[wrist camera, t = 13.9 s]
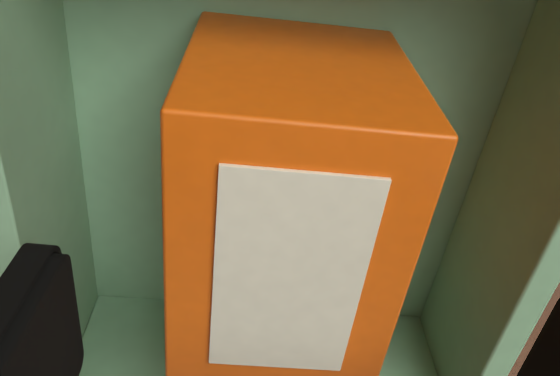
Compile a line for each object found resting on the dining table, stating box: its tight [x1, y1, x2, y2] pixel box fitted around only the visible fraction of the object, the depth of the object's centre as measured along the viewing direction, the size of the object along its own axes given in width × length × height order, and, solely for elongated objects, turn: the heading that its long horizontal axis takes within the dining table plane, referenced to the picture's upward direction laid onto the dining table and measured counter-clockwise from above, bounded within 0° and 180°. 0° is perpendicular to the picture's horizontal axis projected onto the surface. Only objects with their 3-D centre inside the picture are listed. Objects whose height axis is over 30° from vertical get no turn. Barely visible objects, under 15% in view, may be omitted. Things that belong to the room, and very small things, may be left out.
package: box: [160, 11, 458, 376], centre depth 13 cm, size 5×7×6 cm
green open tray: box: [0, 0, 560, 376], centre depth 14 cm, size 14×16×6 cm
